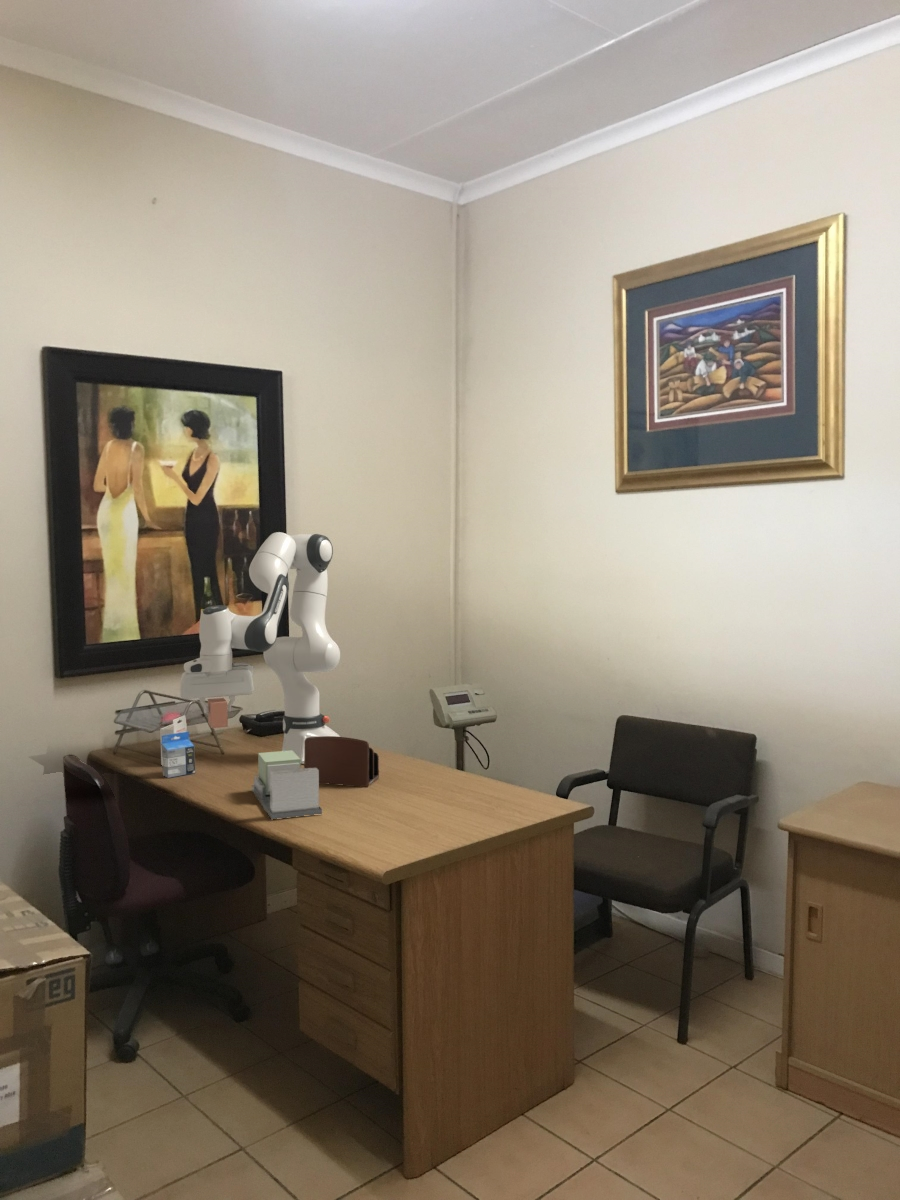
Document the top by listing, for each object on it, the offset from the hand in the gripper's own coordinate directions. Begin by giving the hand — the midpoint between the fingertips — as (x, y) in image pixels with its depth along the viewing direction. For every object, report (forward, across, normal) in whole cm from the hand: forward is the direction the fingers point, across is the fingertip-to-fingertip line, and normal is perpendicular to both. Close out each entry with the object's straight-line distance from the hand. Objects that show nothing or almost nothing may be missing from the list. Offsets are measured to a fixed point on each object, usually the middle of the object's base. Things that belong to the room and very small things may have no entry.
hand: (217, 712), depth 266 cm
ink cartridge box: (+22, +9, -34) cm, 41 cm away
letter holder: (+22, -34, +5) cm, 41 cm away
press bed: (+22, -15, +21) cm, 34 cm away
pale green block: (+20, -15, +13) cm, 28 cm away
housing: (+4, 0, 0) cm, 4 cm away
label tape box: (+22, +9, -19) cm, 30 cm away
